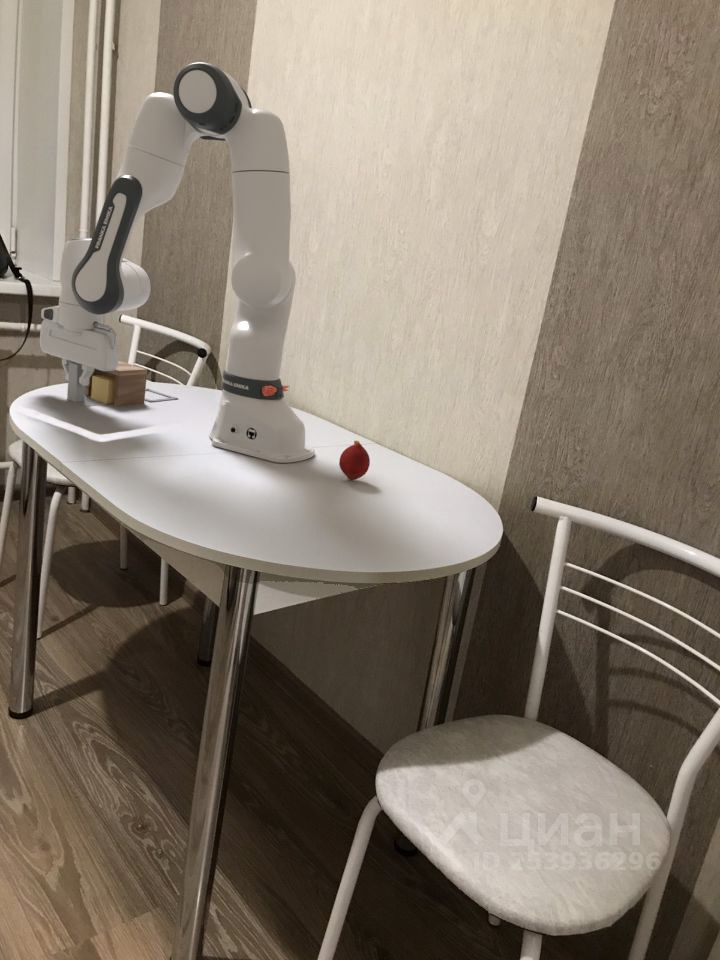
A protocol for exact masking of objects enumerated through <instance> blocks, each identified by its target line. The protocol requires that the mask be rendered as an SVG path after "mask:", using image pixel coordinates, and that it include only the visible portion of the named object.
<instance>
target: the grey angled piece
mask: <svg viewBox="0 0 720 960" xmlns="http://www.w3.org/2000/svg"><path fill="white" fill-rule="evenodd" d="M83 371H84V370H82V364H79V363H76V362H69V376H68V380H67V394H66V395H67V396H66V399H67V400H68V401H71V402H73V403H77V404H79V405H83V406H84V407H85V406H86V407H89V408H90V407H96V406H97V407H99V406H105V405H106V406H108V405H114V403H104V402H101V401H98V400H95V399H92V398H91V396H88V397H86V396H85V388H86V386H83V385H80V384H78V376H81V375H82V373H83Z"/></svg>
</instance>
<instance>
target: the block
mask: <svg viewBox="0 0 720 960" xmlns="http://www.w3.org/2000/svg"><path fill="white" fill-rule="evenodd" d="M115 382H116V376H113V375H97V376H92V391H91V396H90V397H91V398H92V399H95V400H98V401H101V402H104V403H114V395H115Z"/></svg>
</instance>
